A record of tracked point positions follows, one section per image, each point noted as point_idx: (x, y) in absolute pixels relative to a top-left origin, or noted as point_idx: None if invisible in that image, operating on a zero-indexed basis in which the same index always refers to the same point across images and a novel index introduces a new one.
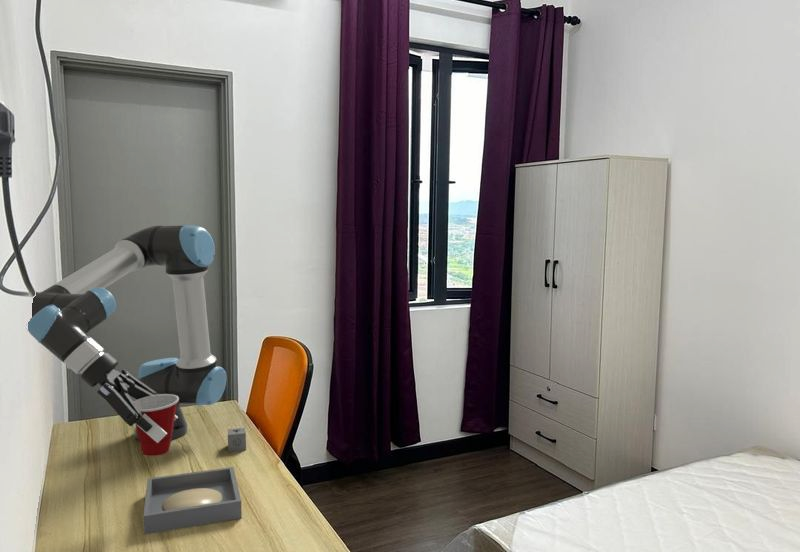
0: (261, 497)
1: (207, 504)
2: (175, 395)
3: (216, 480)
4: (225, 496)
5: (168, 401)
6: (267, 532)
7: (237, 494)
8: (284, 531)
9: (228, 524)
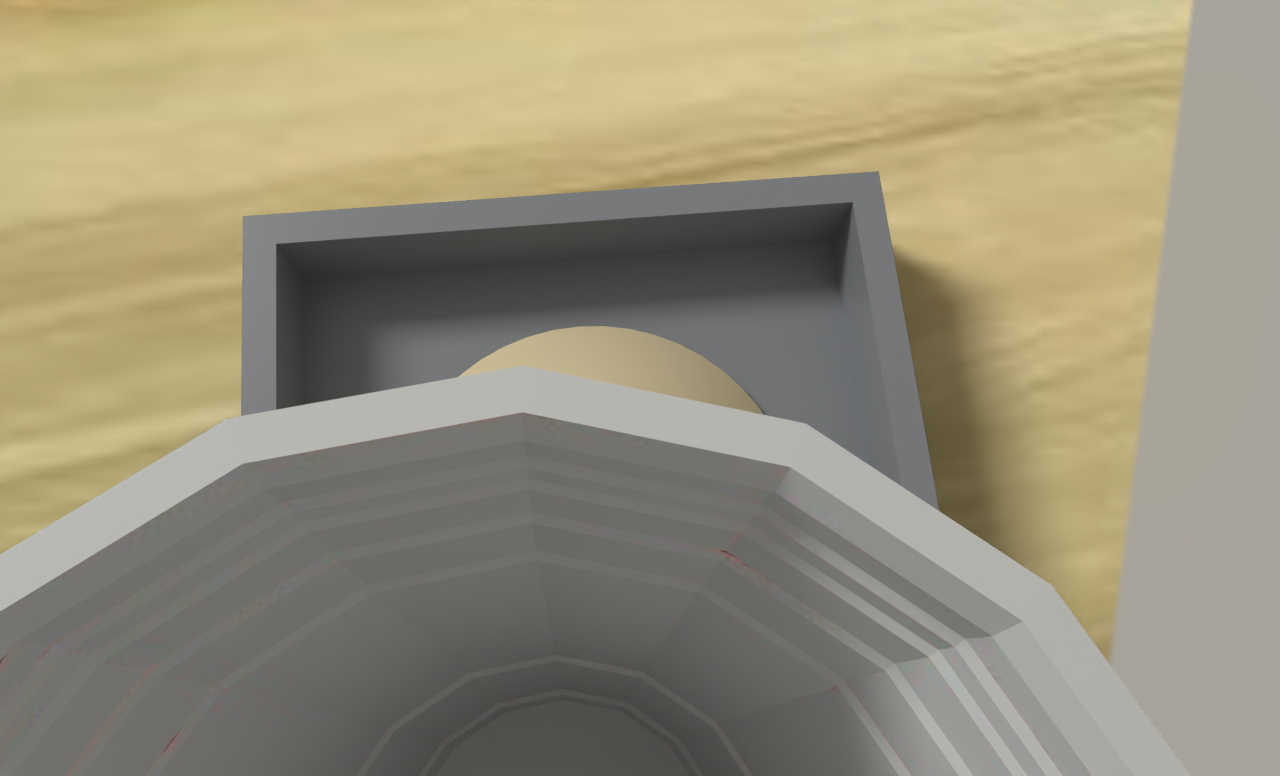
0: (588, 107)
1: (888, 385)
2: (104, 506)
3: (299, 368)
4: (573, 307)
5: (62, 746)
6: (1041, 99)
7: (770, 192)
8: (1044, 19)
9: (909, 298)
